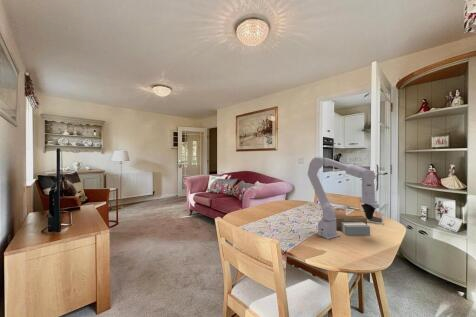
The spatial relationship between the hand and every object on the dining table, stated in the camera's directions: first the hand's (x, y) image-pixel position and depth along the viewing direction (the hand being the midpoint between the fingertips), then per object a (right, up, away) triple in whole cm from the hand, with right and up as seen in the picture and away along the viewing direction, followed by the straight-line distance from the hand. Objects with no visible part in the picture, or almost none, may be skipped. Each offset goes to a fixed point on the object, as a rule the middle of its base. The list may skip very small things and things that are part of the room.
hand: (369, 218), depth 109 cm
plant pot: (+1, -10, +33) cm, 35 cm away
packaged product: (+22, -10, +31) cm, 39 cm away
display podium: (-2, -11, +16) cm, 19 cm away
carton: (-2, -11, +9) cm, 14 cm away
